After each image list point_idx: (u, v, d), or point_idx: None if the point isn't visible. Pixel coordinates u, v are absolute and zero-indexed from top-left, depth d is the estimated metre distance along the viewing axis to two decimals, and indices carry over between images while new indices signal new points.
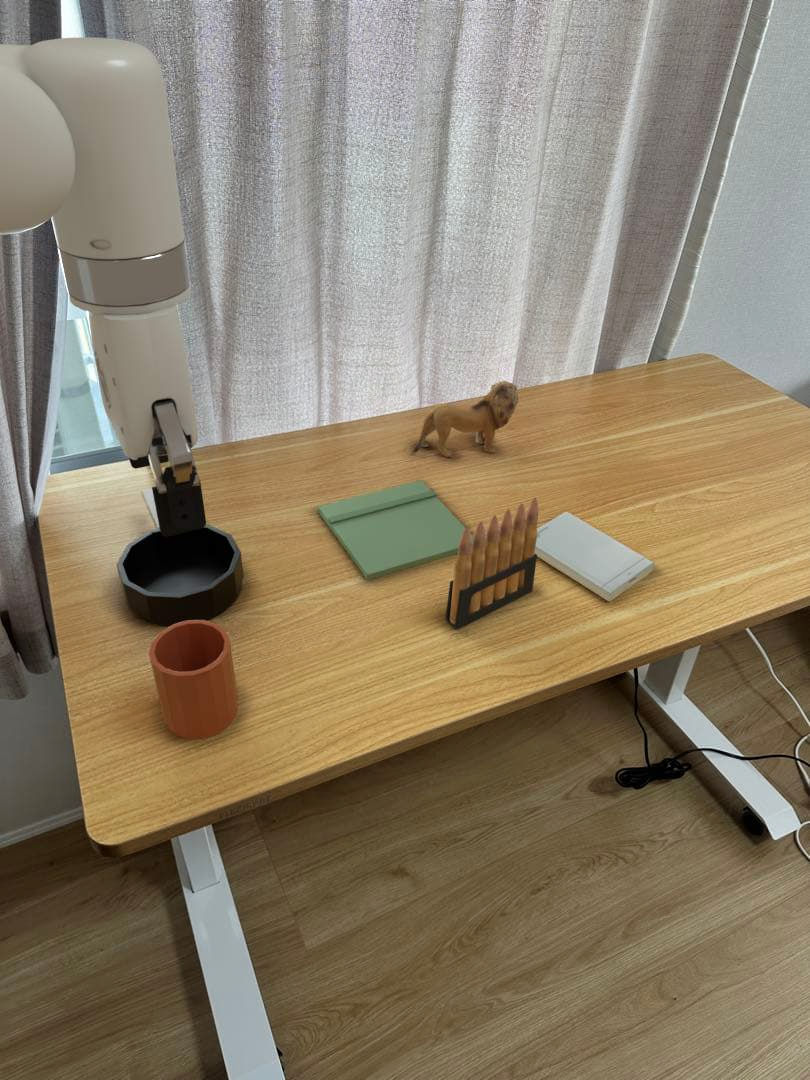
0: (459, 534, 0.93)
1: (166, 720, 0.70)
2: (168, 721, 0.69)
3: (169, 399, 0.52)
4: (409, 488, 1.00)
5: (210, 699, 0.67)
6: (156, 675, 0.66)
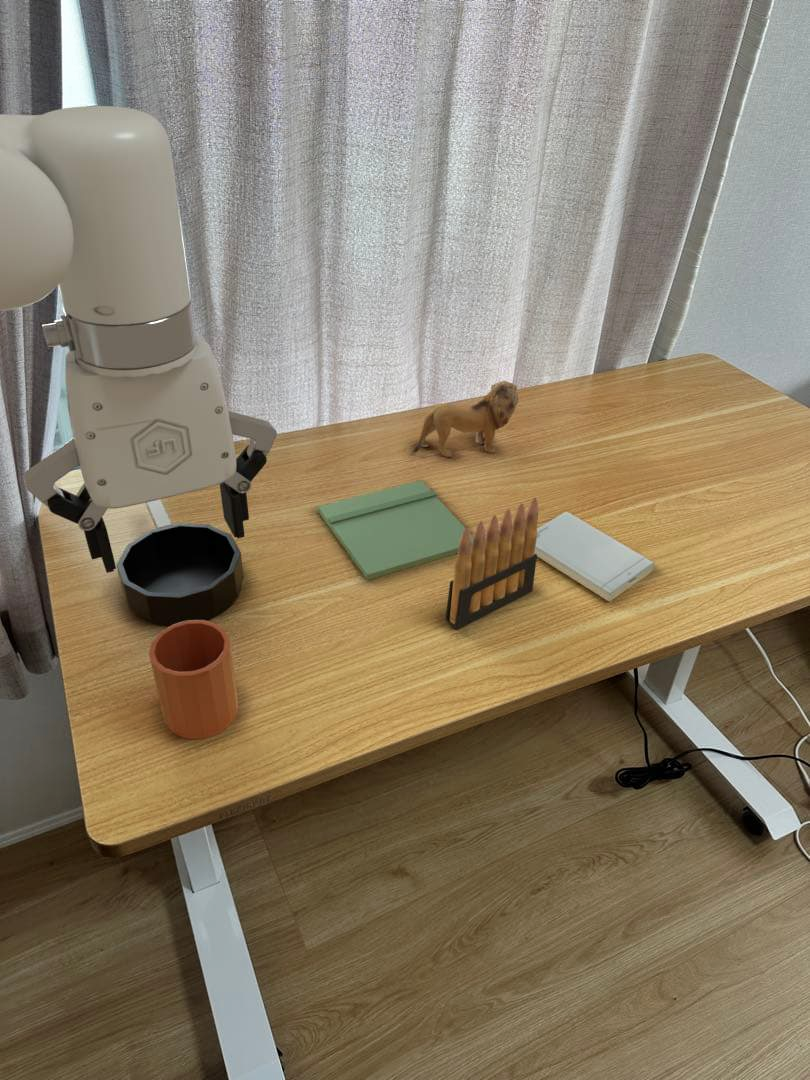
0: (459, 534, 0.93)
1: (166, 720, 0.70)
2: (168, 721, 0.69)
3: None
4: (409, 488, 1.00)
5: (210, 699, 0.67)
6: (156, 675, 0.66)
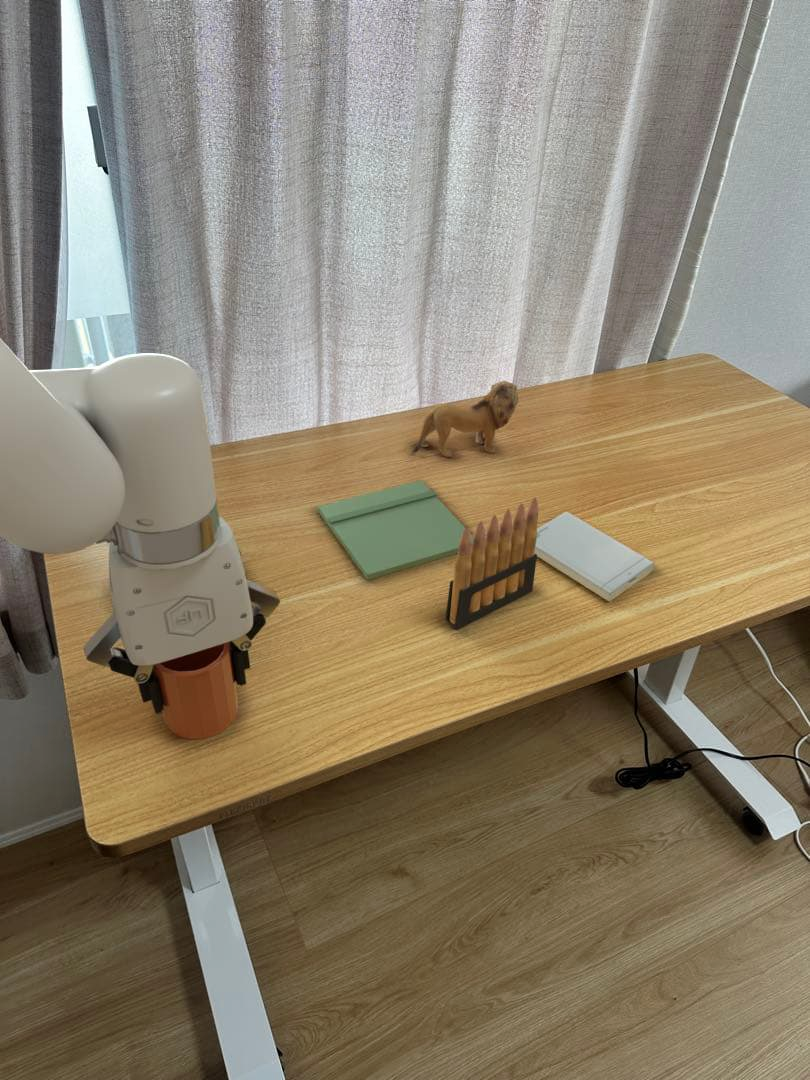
0: (459, 534, 0.93)
1: (166, 720, 0.70)
2: (168, 721, 0.69)
3: None
4: (409, 488, 1.00)
5: (210, 699, 0.67)
6: (156, 675, 0.66)
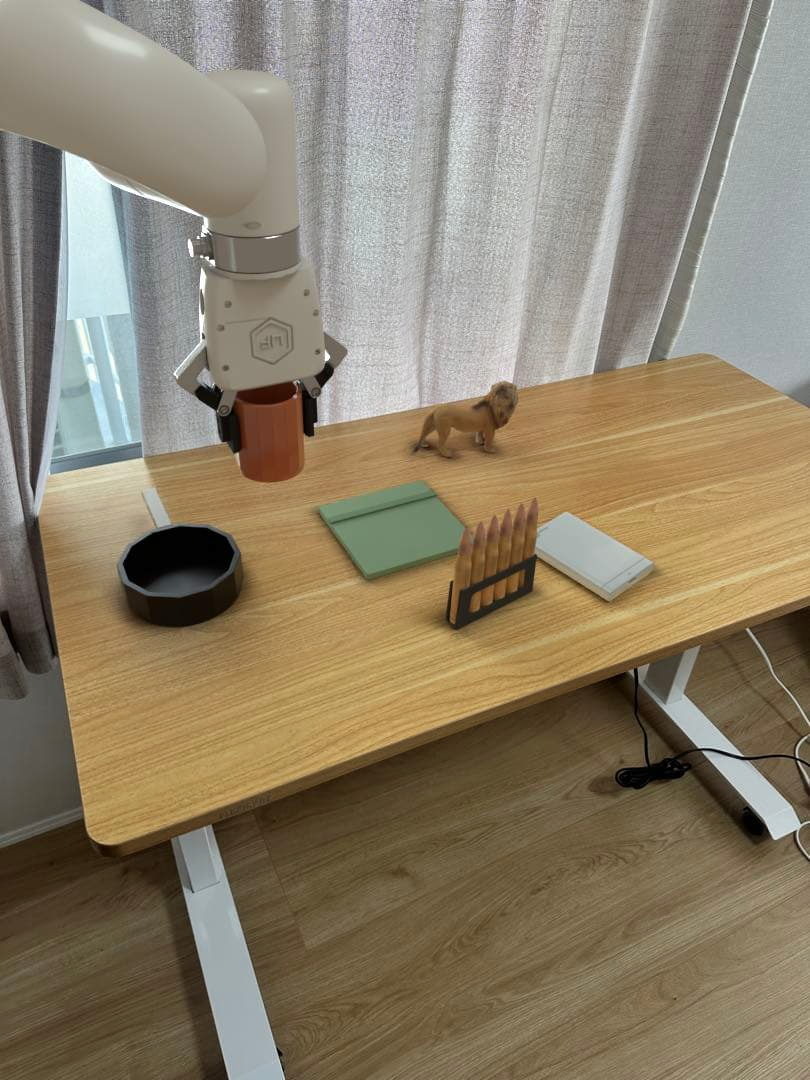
0: (459, 534, 0.93)
1: (241, 465, 0.76)
2: (243, 465, 0.75)
3: None
4: (409, 488, 1.00)
5: (284, 438, 0.73)
6: (236, 412, 0.72)
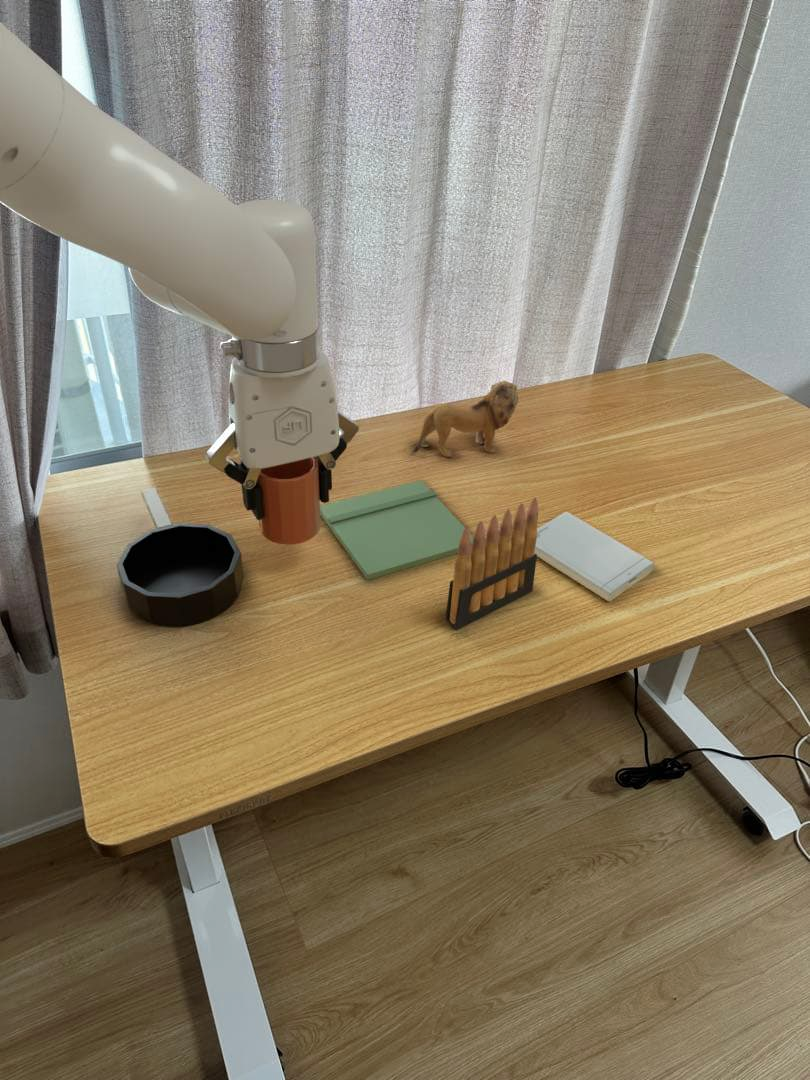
0: (459, 534, 0.93)
1: (264, 529, 0.85)
2: (266, 529, 0.84)
3: None
4: (409, 488, 1.00)
5: (303, 506, 0.82)
6: (260, 484, 0.81)
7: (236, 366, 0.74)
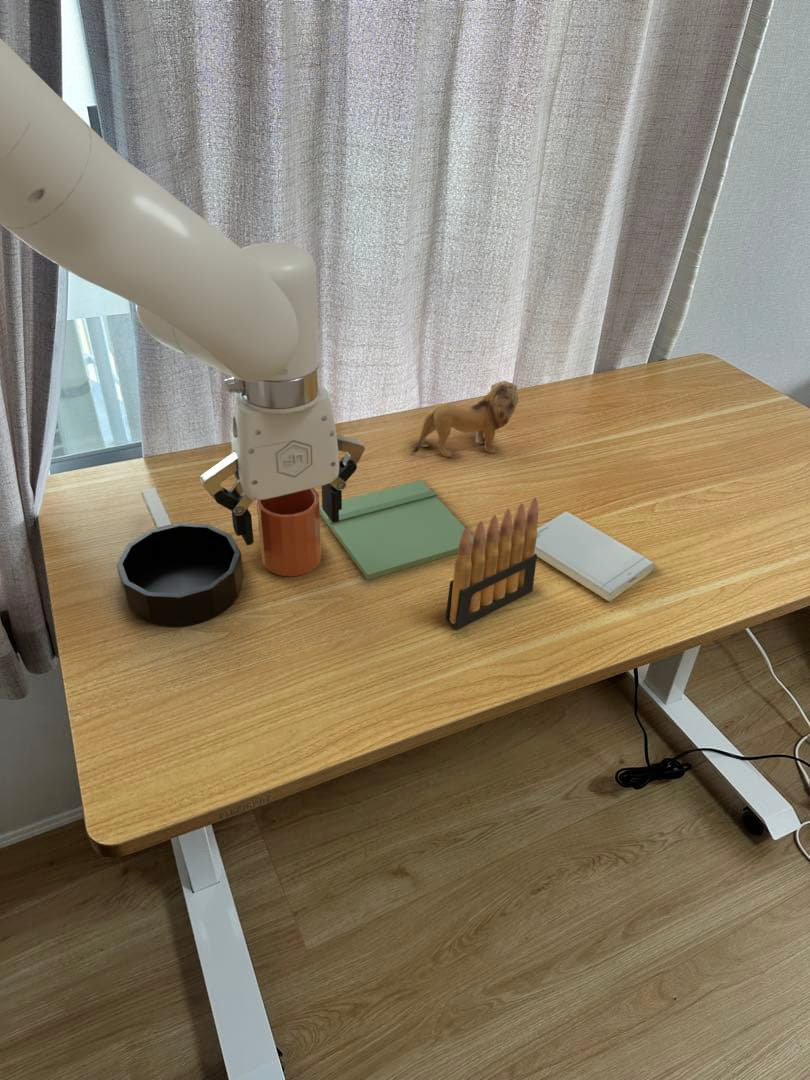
0: (459, 534, 0.93)
1: (266, 561, 0.87)
2: (268, 562, 0.87)
3: None
4: (409, 488, 1.00)
5: (304, 540, 0.85)
6: (262, 519, 0.84)
7: (239, 401, 0.76)
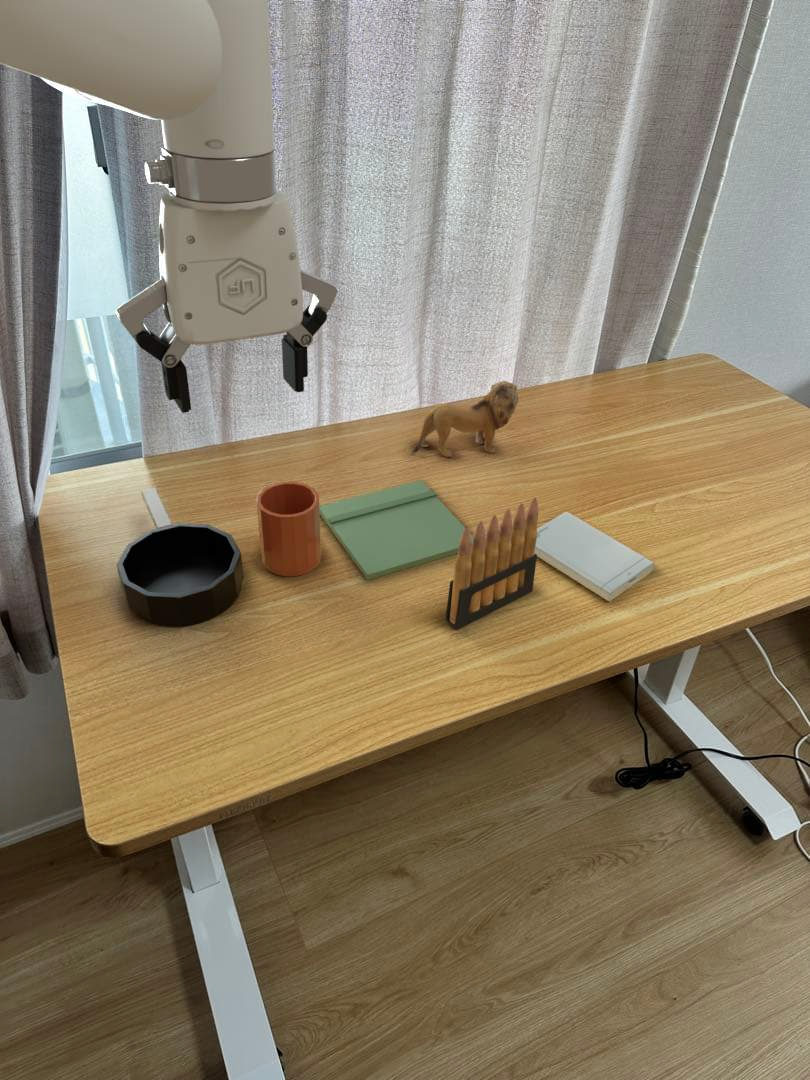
0: (459, 534, 0.93)
1: (266, 561, 0.87)
2: (268, 562, 0.87)
3: None
4: (409, 488, 1.00)
5: (304, 540, 0.85)
6: (262, 519, 0.84)
7: (167, 200, 0.57)
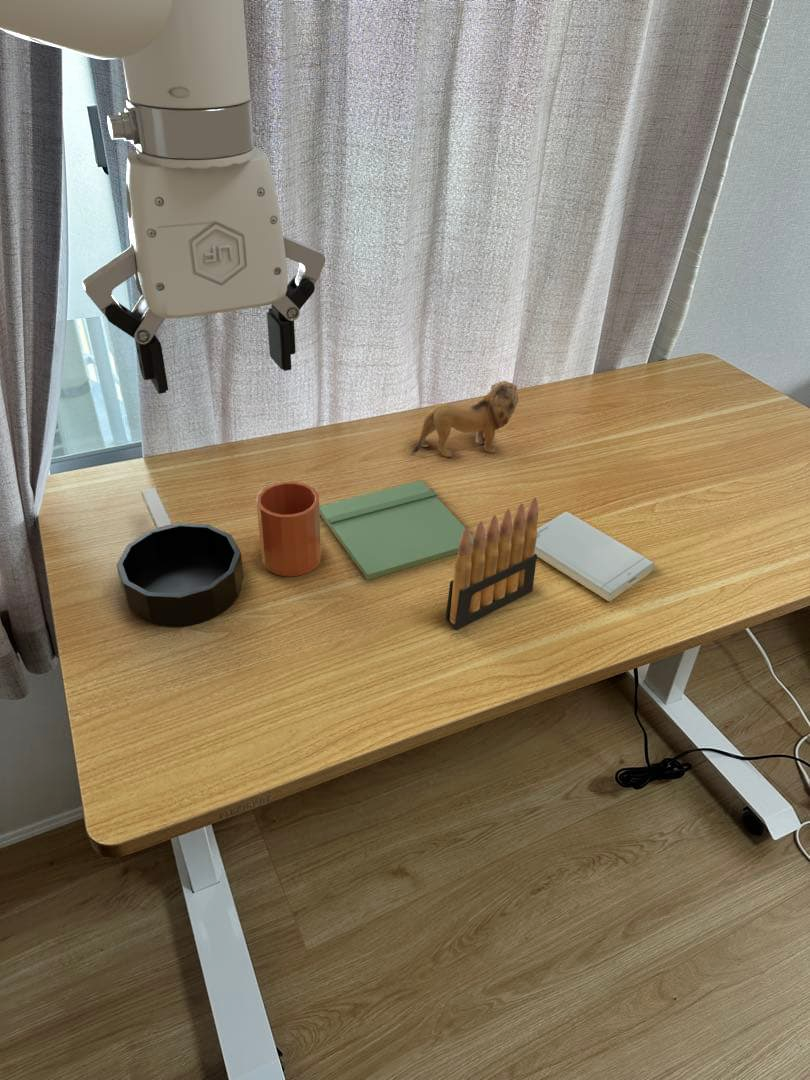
0: (459, 534, 0.93)
1: (266, 561, 0.87)
2: (268, 562, 0.87)
3: None
4: (409, 488, 1.00)
5: (304, 540, 0.85)
6: (262, 519, 0.84)
7: (133, 158, 0.51)
